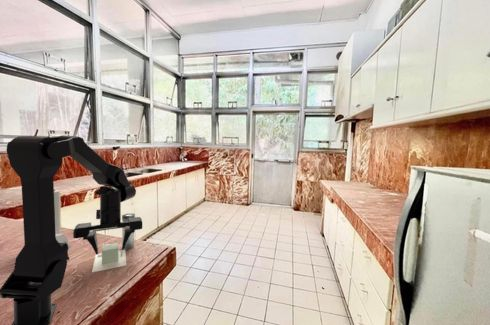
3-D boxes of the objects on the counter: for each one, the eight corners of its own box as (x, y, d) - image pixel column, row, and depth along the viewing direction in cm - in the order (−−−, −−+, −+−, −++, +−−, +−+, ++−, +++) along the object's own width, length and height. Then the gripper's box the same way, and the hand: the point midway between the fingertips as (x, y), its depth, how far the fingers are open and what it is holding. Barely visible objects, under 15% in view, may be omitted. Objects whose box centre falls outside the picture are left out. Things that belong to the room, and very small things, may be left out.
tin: (134, 248, 80) (135, 215, 79) (121, 250, 78) (122, 217, 77) (134, 244, 83) (134, 212, 83) (121, 246, 81) (121, 214, 80)
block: (118, 261, 70) (118, 248, 70) (101, 264, 68) (102, 250, 67) (118, 255, 74) (118, 242, 74) (102, 258, 72) (102, 245, 71)
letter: (126, 265, 68) (126, 265, 68) (92, 273, 63) (91, 272, 63) (125, 249, 78) (125, 249, 78) (95, 255, 74) (95, 254, 74)
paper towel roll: (65, 246, 79) (64, 189, 78) (45, 253, 73) (45, 192, 72) (51, 243, 81) (50, 188, 80) (31, 250, 75) (30, 190, 74)
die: (39, 270, 65) (63, 242, 67) (20, 253, 66) (44, 226, 69) (60, 265, 73) (81, 240, 75) (43, 250, 74) (64, 226, 77)
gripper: (140, 198, 81) (139, 237, 82) (78, 202, 72) (79, 247, 73) (142, 205, 72) (142, 249, 73) (72, 211, 62) (73, 262, 63)
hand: (110, 251), depth 71 cm, fingers open, 7 cm apart
